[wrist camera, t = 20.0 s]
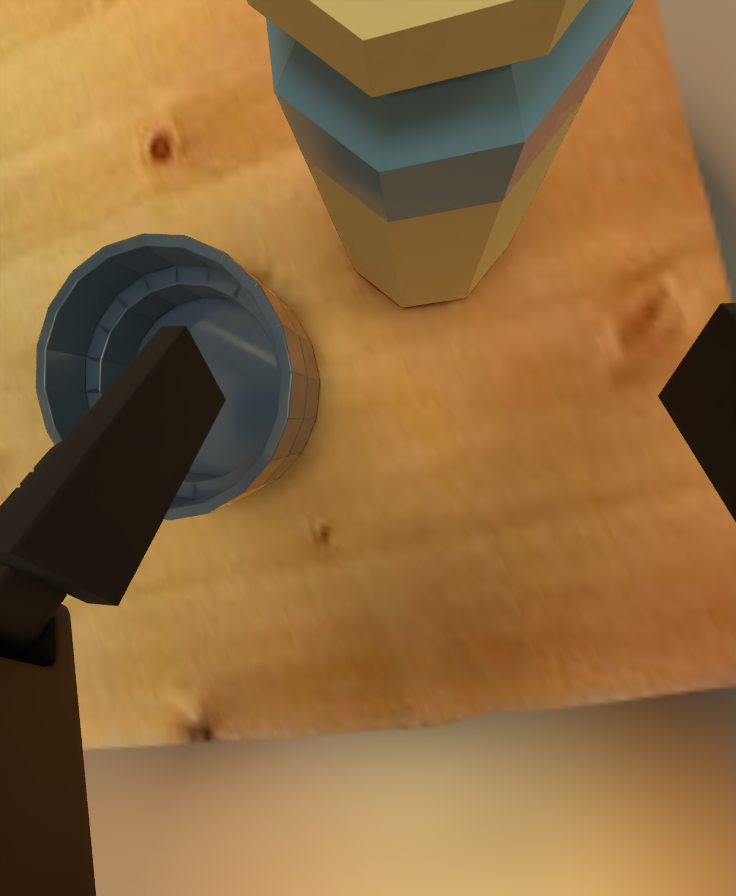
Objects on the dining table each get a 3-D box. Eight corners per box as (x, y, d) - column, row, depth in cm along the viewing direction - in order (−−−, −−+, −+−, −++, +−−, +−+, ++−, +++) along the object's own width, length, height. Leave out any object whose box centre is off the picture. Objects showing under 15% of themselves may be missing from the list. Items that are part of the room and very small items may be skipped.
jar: (534, 162, 19) (910, -676, 4) (479, 331, 20) (635, 106, 6) (372, 129, 20) (244, -641, 6) (329, 291, 21) (126, 12, 7)
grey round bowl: (78, 351, 24) (-10, 333, 19) (247, 227, 22) (196, 172, 17) (181, 534, 24) (120, 564, 19) (361, 430, 22) (344, 434, 17)
